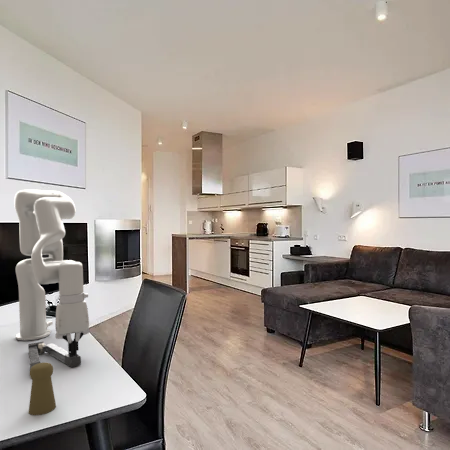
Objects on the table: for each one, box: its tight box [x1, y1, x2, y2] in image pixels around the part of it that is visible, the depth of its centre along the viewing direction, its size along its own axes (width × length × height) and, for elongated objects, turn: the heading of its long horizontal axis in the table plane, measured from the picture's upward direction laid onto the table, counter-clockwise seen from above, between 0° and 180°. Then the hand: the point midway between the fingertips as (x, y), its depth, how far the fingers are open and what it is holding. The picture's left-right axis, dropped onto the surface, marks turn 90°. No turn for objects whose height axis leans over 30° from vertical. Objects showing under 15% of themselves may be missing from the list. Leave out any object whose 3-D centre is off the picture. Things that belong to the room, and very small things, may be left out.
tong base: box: [27, 341, 45, 370], centre depth 120 cm, size 26×5×3 cm, turn 31°
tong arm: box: [38, 342, 82, 368], centre depth 122 cm, size 22×5×3 cm, turn 47°
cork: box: [28, 361, 57, 416], centre depth 89 cm, size 6×6×11 cm
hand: (73, 353), depth 122 cm, fingers closed
